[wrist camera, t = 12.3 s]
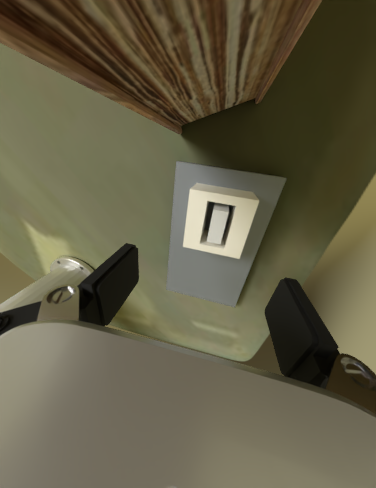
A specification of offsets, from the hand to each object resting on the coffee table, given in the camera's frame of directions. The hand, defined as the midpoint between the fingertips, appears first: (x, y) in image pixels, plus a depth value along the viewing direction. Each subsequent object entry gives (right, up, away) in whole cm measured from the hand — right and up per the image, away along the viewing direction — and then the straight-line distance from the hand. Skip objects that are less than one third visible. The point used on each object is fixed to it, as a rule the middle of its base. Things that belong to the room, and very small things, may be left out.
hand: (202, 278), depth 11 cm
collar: (+3, +6, +11) cm, 13 cm away
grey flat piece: (+3, +2, +15) cm, 16 cm away
